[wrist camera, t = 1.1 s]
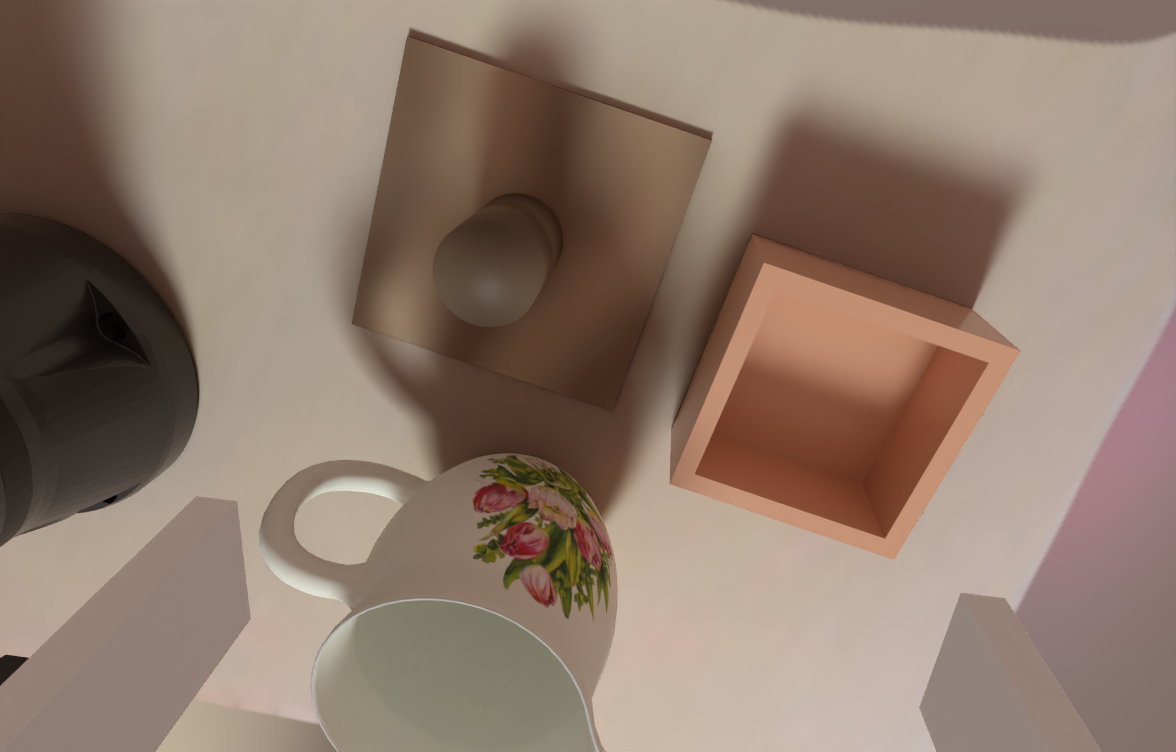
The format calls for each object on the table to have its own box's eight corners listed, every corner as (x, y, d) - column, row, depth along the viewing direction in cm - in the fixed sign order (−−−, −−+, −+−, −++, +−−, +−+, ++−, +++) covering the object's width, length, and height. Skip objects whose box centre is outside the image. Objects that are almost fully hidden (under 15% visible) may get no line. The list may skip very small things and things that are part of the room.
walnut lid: (358, 318, 36) (291, 372, 30) (413, 36, 31) (346, 32, 25) (613, 403, 37) (599, 475, 30) (711, 138, 31) (718, 159, 25)
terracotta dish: (671, 429, 36) (669, 483, 32) (752, 233, 32) (763, 262, 28) (867, 496, 36) (894, 559, 32) (972, 309, 32) (1020, 350, 28)
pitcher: (394, 328, 36) (238, 474, 23) (712, 513, 38) (726, 741, 25) (310, 492, 40) (139, 691, 27) (599, 651, 42) (564, 905, 29)
